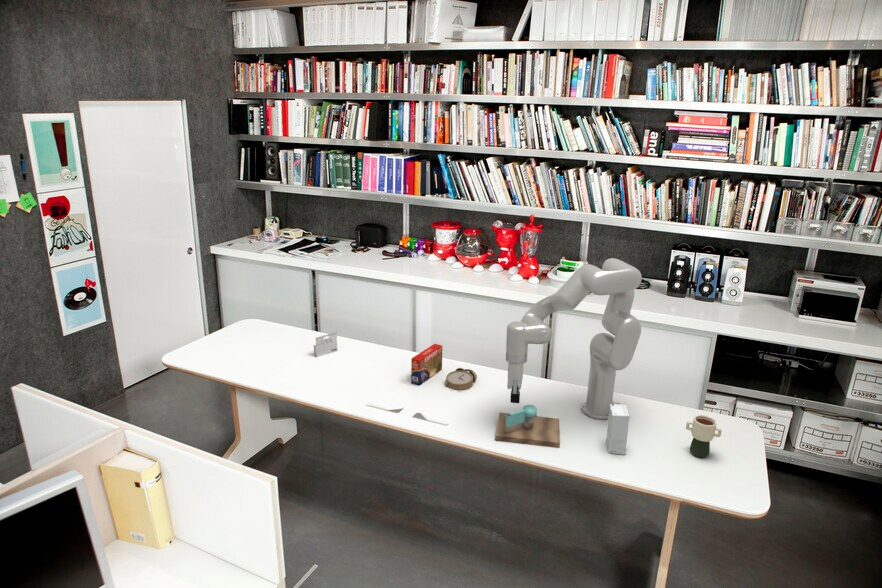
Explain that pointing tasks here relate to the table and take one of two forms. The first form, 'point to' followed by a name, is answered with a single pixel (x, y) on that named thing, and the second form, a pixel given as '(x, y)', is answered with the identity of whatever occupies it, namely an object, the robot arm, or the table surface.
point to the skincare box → (617, 429)
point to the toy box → (426, 364)
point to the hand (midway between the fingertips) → (515, 401)
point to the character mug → (702, 434)
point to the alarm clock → (461, 379)
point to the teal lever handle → (520, 415)
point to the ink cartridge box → (325, 345)
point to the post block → (530, 431)
